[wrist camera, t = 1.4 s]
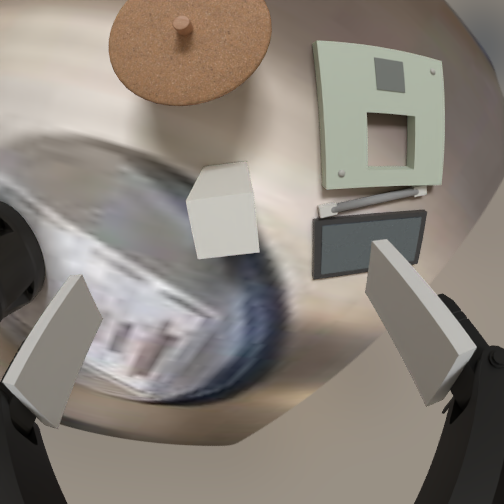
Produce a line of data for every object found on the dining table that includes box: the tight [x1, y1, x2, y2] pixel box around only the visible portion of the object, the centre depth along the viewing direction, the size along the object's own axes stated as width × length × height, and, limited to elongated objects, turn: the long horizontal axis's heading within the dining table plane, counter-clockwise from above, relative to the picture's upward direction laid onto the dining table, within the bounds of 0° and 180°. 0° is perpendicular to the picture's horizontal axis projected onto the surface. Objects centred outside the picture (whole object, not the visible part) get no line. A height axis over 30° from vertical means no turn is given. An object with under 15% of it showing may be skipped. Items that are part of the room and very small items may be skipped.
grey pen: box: [318, 185, 427, 218], centre depth 27 cm, size 13×1×1 cm, turn 104°
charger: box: [186, 161, 260, 259], centre depth 22 cm, size 4×4×10 cm
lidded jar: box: [109, 0, 272, 106], centre depth 15 cm, size 11×11×9 cm
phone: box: [312, 210, 427, 279], centre depth 30 cm, size 14×7×1 cm, turn 96°
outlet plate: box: [312, 41, 445, 190], centre depth 22 cm, size 14×14×2 cm
